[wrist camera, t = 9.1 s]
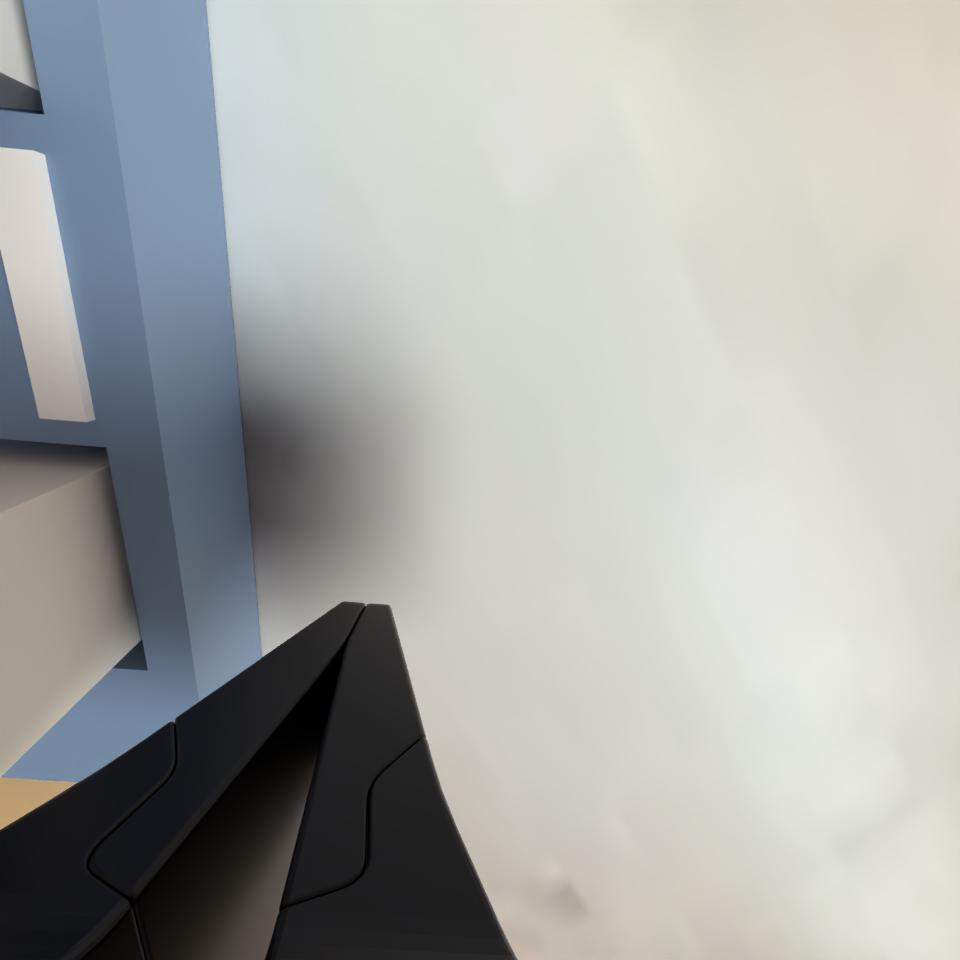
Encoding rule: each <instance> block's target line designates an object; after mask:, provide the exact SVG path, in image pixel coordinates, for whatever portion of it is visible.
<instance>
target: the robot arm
mask: <svg viewBox="0 0 960 960" xmlns="http://www.w3.org/2000/svg"><path fill="white" fill-rule="evenodd" d="M0 960H518V959H517V958H516V956H515V954H514V952H513V950H512V948H511V946H510V944H509V942H508V940H507V938H506V936H505V934H504V932H503V930H502V928H501V926H500V923H499V921H498V919H497V917H496V915H495V912H494V910H493V908H492V906H491V903H490V901H489V899H488V897H487V894H486V892H485V890H484V888H483V885H482V883H481V881H480V878H479V876H478V874H477V872H476V869H475V867H474V865H473V863H472V860H471V858H470V856H469V854H468V851H467V849H466V847H465V845H464V842H463V840H462V838H461V836H460V833H459V831H458V829H457V827H456V824H455V822H454V819H453V817H452V814H451V812H450V809H449V807H448V804H447V802H446V799H445V797H444V794H443V792H442V789H441V785H440V782H439V779H438V776H437V773H436V770H435V767H434V763H433V760H432V757H431V753H430V749H429V746H428V742H427V740H426V736H425V732H424V728H423V725H422V721H421V717H420V713H419V710H418V706H417V702H416V699H415V695H414V691H413V688H412V684H411V680H410V676H409V673H408V669H407V665H406V662H405V658H404V654H403V651H402V647H401V643H400V639H399V636H398V632H397V628H396V625H395V621H394V617H393V614H392V610H391V607H390V606H389V605H384V604H368V605H367V606H366V605H365V604H364V603H357V602H342V603H340V604H338V605H337V606H336V607H334V608H333V609H331V610H330V611H328V612H327V613H326V614H324V615H323V616H321V617H320V618H318V619H317V620H315V621H314V622H313V623H311V624H310V625H308V626H307V627H305V628H304V629H303V630H301V631H300V632H298V633H297V634H295V635H294V636H293V637H291V638H290V639H288V640H287V641H285V642H284V643H282V644H281V645H280V646H278V647H277V648H275V649H274V650H272V651H271V652H270V653H268V654H267V655H265V656H264V657H262V658H261V659H259V660H258V661H257V662H255V663H254V664H252V665H251V666H249V667H248V668H247V669H245V670H244V671H242V672H241V673H239V674H238V675H237V676H235V677H234V678H232V679H231V680H229V681H228V682H226V683H225V684H224V685H222V686H221V687H219V688H218V689H216V690H215V691H214V692H212V693H211V694H209V695H208V696H206V697H205V698H203V699H202V700H201V701H199V702H198V703H196V704H195V705H193V706H192V707H191V708H189V709H188V710H186V711H185V712H183V713H182V714H181V715H179V716H178V717H176V719H175V723H174V722H169V723H167V724H166V725H164V726H163V727H162V728H160V729H159V730H157V731H156V732H154V733H153V734H151V735H150V736H149V737H147V738H146V739H144V740H143V741H141V742H140V743H138V744H137V745H135V746H134V747H132V748H131V749H129V750H128V751H126V752H125V753H123V754H122V755H120V756H119V757H117V758H116V759H114V760H113V761H111V762H110V763H108V764H107V765H105V766H104V767H102V768H101V769H99V770H98V771H96V772H94V773H93V774H91V775H90V776H88V777H86V778H85V779H83V780H81V781H80V782H78V783H77V784H75V785H73V786H72V787H70V788H69V789H67V790H65V791H64V792H62V793H61V794H59V795H57V796H56V797H54V798H53V799H51V800H49V801H48V802H46V803H44V804H43V805H41V806H39V807H38V808H36V809H34V810H33V811H31V812H29V813H28V814H26V815H24V816H23V817H21V818H19V819H18V820H16V821H14V822H13V823H11V824H9V825H8V826H6V827H4V828H3V829H1V830H0Z"/></svg>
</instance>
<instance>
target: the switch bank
mask: <svg viewBox="0 0 960 960" xmlns="http://www.w3.org/2000/svg"><path fill="white" fill-rule="evenodd" d="M23 3H24V9H25V14H26V19H27V25H28V30H29V35H30V41H31V46H32V52H33V57H34V62H35V68H36V73H37V78H38V84H39V89H40V94H41V100H42V105H43V110H44V111H35V110H25V109H15V108H5V107H0V439H9V440H21V441H33V442H46V443H58V444H70V445H83V446H95V447H106V448H107V453H108V459H109V464H110V470H111V475H112V480H113V486H114V491H115V496H116V502H117V507H118V512H119V518H120V523H121V528H122V534H123V539H124V545H125V550H126V555H127V561H128V566H129V571H130V577H131V582H132V587H133V593H134V598H135V603H136V609H137V614H138V620H139V625H140V630H141V636H142V640H141V641H140V642H139V643H137V644H136V645H135V646H134V647H133V648H132V649H131V650H130V651H129V652H128V653H127V654H126V655H125V656H124V657H123V658H122V659H121V660H120V661H119V662H118V663H117V664H116V665H115V666H114V667H113V668H112V669H111V670H110V671H109V672H108V673H107V674H106V675H105V676H104V677H103V678H102V679H101V680H100V681H99V682H98V683H97V684H96V685H95V686H94V687H92V688H91V689H90V690H89V691H88V692H87V693H86V694H85V695H84V696H83V697H82V698H81V699H80V700H79V701H78V702H77V703H76V704H75V705H74V706H73V707H72V708H71V709H70V710H69V711H68V712H67V713H66V714H65V715H64V716H63V717H62V718H61V719H60V720H59V721H58V722H57V723H56V724H55V725H54V726H53V727H52V728H51V729H50V730H49V731H47V732H46V733H45V734H44V735H43V736H42V737H41V738H40V739H39V740H38V741H37V742H36V743H35V744H34V745H33V746H32V747H31V748H30V749H29V750H28V751H27V752H26V753H25V754H24V755H23V756H22V757H21V758H20V759H19V760H18V761H17V762H16V763H15V764H14V765H13V766H12V767H11V768H10V769H9V770H8V771H7V772H6V773H5V774H3V775H2V776H1V777H7V778H23V779H38V780H54V781H70V782H80V781H81V780H83V779H85V778H86V777H88V776H90V775H91V774H93V773H94V772H96V771H98V770H99V769H101V768H102V767H104V766H105V765H107V764H108V763H110V762H111V761H113V760H114V759H116V758H117V757H119V756H120V755H122V754H123V753H125V752H126V751H128V750H129V749H131V748H132V747H134V746H135V745H137V744H138V743H140V742H141V741H143V740H144V739H146V738H147V737H149V736H150V735H151V734H153V733H154V732H156V731H157V730H159V729H160V728H162V727H163V726H164V725H166V724H167V723H169V722H174V723H175V719H176V717H178V716H179V715H181V714H182V713H183V712H185V711H186V710H188V709H189V708H191V707H192V706H193V705H195V704H196V703H198V702H199V701H201V700H202V699H203V698H205V697H206V696H208V695H209V694H211V693H212V692H214V691H215V690H216V689H218V688H219V687H221V686H222V685H224V684H225V683H226V682H228V681H229V680H231V679H232V678H234V677H235V676H237V675H238V674H239V673H241V672H242V671H244V670H245V669H247V668H248V667H249V666H251V665H252V664H254V663H255V662H257V661H258V660H259V659H261V658H262V653H261V641H260V629H259V618H258V606H257V594H256V582H255V571H254V559H253V547H252V535H251V524H250V512H249V500H248V489H247V477H246V465H245V453H244V442H243V430H242V418H241V406H240V395H239V383H238V371H237V360H236V348H235V336H234V324H233V313H232V301H231V289H230V278H229V266H228V254H227V242H226V231H225V219H224V207H223V195H222V184H221V172H220V160H219V149H218V137H217V125H216V113H215V102H214V90H213V78H212V67H211V55H210V43H209V31H208V20H207V8H206V0H23Z"/></svg>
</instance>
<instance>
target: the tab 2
mask: <svg viewBox="0 0 960 960" xmlns="http://www.w3.org/2000/svg"><path fill="white" fill-rule="evenodd" d="M141 640H142V636H141V630H140V625H139V620H138V614H137V609H136V603H135V598H134V593H133V587H132V582H131V577H130V571H129V566H128V561H127V555H126V550H125V545H124V539H123V534H122V528H121V523H120V518H119V512H118V507H117V502H116V496H115V491H114V486H113V480H112V475H111V470H110V464H109V459H108V453H107V448H106V447H95V446H83V445H70V444H58V443H46V442H33V441H21V440H9V439H0V777H1V776H2V775H3V774H5V773H6V772H7V771H8V770H9V769H10V768H11V767H12V766H13V765H14V764H15V763H16V762H17V761H18V760H19V759H20V758H21V757H22V756H23V755H24V754H25V753H26V752H27V751H28V750H29V749H30V748H31V747H32V746H33V745H34V744H35V743H36V742H37V741H38V740H39V739H40V738H41V737H42V736H43V735H44V734H45V733H46V732H47V731H49V730H50V729H51V728H52V727H53V726H54V725H55V724H56V723H57V722H58V721H59V720H60V719H61V718H62V717H63V716H64V715H65V714H66V713H67V712H68V711H69V710H70V709H71V708H72V707H73V706H74V705H75V704H76V703H77V702H78V701H79V700H80V699H81V698H82V697H83V696H84V695H85V694H86V693H87V692H88V691H89V690H90V689H91V688H92V687H94V686H95V685H96V684H97V683H98V682H99V681H100V680H101V679H102V678H103V677H104V676H105V675H106V674H107V673H108V672H109V671H110V670H111V669H112V668H113V667H114V666H115V665H116V664H117V663H118V662H119V661H120V660H121V659H122V658H123V657H124V656H125V655H126V654H127V653H128V652H129V651H130V650H131V649H132V648H133V647H134V646H135V645H136V644H137V643H139V642H140V641H141Z"/></svg>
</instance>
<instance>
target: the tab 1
mask: <svg viewBox="0 0 960 960" xmlns="http://www.w3.org/2000/svg"><path fill="white" fill-rule="evenodd" d="M0 107H5V108H15V109H25V110H35V111H44V110H43V105H42V100H41V94H40V89H39V84H38V78H37V73H36V68H35V62H34V57H33V52H32V46H31V41H30V35H29V30H28V25H27V19H26V14H25V9H24V3H23V0H0Z"/></svg>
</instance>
